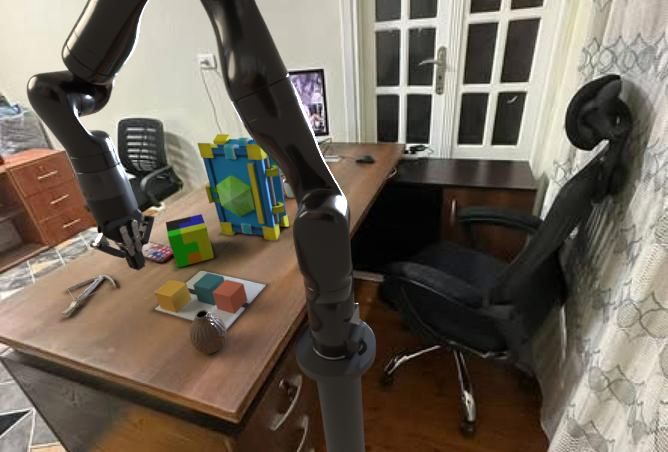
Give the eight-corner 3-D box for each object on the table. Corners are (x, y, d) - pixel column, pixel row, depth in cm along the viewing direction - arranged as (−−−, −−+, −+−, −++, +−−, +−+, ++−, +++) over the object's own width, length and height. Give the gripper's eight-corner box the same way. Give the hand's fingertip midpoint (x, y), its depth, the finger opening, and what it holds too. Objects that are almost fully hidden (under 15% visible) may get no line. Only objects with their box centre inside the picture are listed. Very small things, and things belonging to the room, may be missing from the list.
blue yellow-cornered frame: (238, 217, 124) (218, 132, 109) (297, 223, 116) (284, 133, 102) (214, 237, 112) (188, 145, 98) (277, 245, 105) (260, 147, 90)
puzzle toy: (208, 242, 110) (201, 214, 105) (214, 257, 102) (206, 227, 97) (174, 251, 106) (165, 222, 101) (177, 267, 98) (168, 236, 93)
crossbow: (82, 281, 97) (79, 275, 96) (127, 278, 97) (124, 271, 96) (39, 319, 83) (36, 312, 82) (92, 315, 83) (89, 308, 82)
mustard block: (192, 299, 85) (186, 283, 83) (176, 313, 81) (170, 296, 79) (176, 295, 87) (170, 279, 85) (160, 308, 83) (154, 292, 81)
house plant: (266, 201, 134) (258, 160, 126) (280, 187, 145) (274, 149, 138) (300, 203, 130) (294, 161, 122) (312, 189, 141) (308, 149, 133)
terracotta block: (247, 300, 83) (243, 283, 81) (234, 314, 79) (229, 297, 77) (230, 295, 85) (226, 279, 83) (217, 309, 81) (212, 292, 79)
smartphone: (147, 240, 112) (180, 249, 105) (148, 243, 112) (181, 251, 106) (126, 251, 106) (159, 261, 100) (127, 254, 106) (160, 264, 100)
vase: (220, 360, 68) (209, 328, 64) (188, 358, 70) (175, 325, 65) (235, 334, 74) (225, 302, 70) (205, 332, 76) (194, 300, 71)
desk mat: (265, 285, 88) (265, 284, 88) (225, 330, 75) (225, 329, 75) (201, 271, 96) (201, 270, 96) (155, 309, 83) (154, 308, 83)
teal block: (228, 292, 86) (223, 276, 84) (214, 305, 82) (209, 289, 80) (212, 288, 88) (207, 272, 86) (198, 301, 84) (192, 284, 82)
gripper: (86, 208, 57) (123, 291, 65) (151, 179, 67) (176, 254, 76) (57, 202, 60) (97, 283, 68) (125, 175, 70) (152, 248, 79)
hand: (139, 267), depth 72 cm, fingers closed
